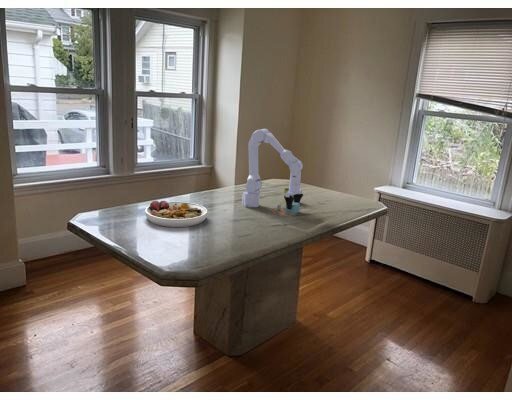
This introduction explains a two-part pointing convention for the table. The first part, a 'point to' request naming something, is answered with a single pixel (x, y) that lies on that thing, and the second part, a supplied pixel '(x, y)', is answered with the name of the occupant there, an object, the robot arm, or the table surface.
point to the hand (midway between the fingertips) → (292, 207)
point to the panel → (282, 212)
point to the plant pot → (287, 191)
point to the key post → (278, 207)
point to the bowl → (175, 213)
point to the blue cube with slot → (293, 208)
